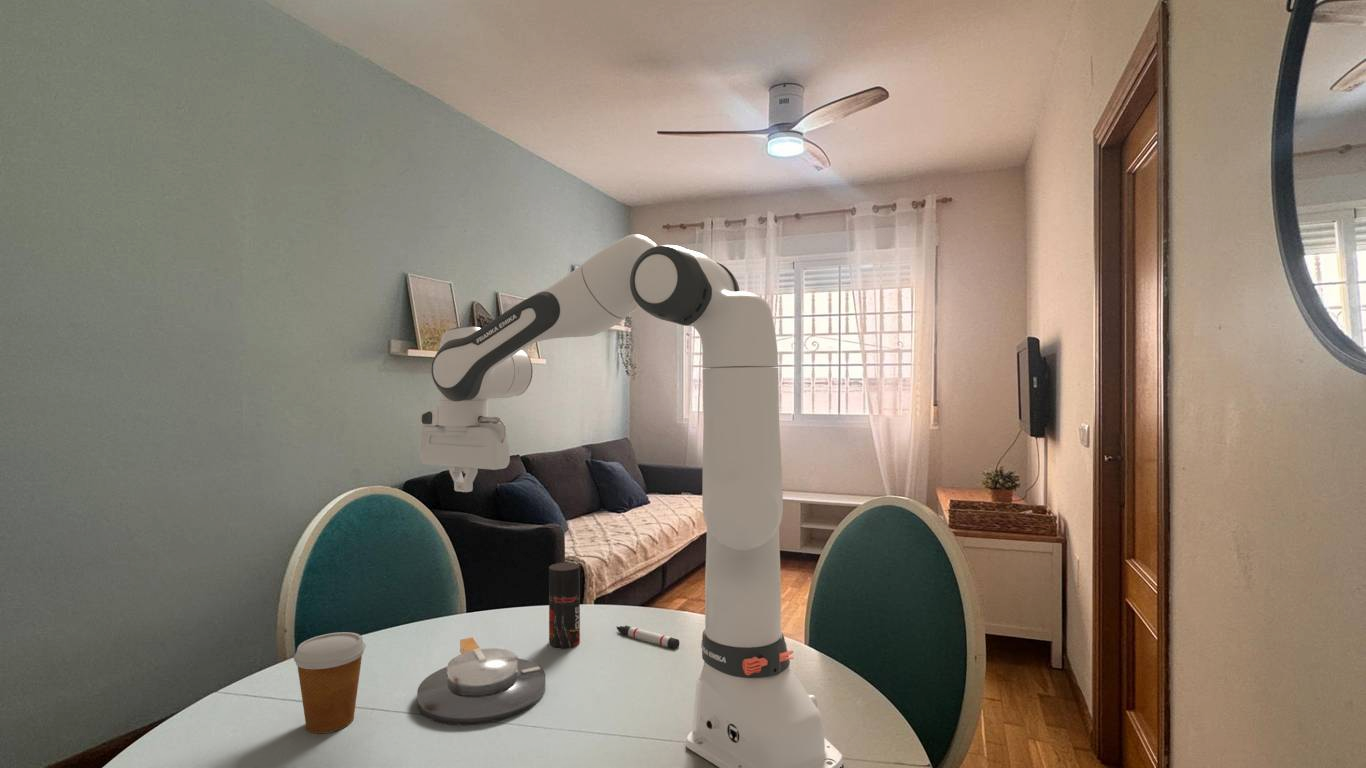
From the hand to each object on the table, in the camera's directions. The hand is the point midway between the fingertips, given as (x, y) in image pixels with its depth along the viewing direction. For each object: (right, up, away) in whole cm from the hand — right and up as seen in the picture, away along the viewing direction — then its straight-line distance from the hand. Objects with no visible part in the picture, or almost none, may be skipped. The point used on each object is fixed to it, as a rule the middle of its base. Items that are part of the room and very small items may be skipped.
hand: (463, 491), depth 122 cm
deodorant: (+17, -31, +8) cm, 37 cm away
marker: (+33, -32, +10) cm, 47 cm away
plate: (+8, -31, -13) cm, 35 cm away
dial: (+6, -29, -10) cm, 31 cm away
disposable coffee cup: (-13, -31, -22) cm, 40 cm away
